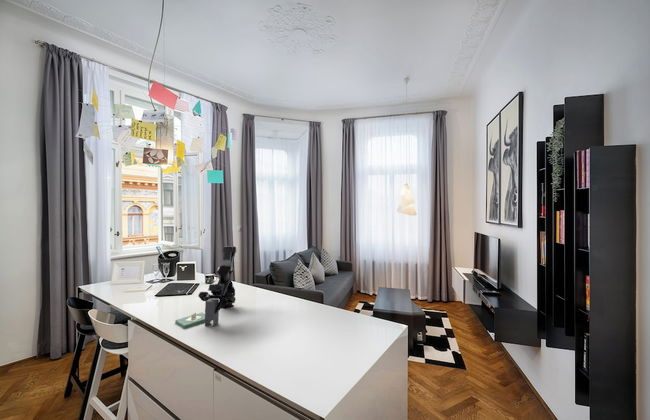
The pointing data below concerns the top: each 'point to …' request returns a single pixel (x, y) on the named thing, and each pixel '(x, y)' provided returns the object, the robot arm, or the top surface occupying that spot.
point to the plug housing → (211, 311)
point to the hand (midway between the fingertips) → (210, 312)
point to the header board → (191, 320)
